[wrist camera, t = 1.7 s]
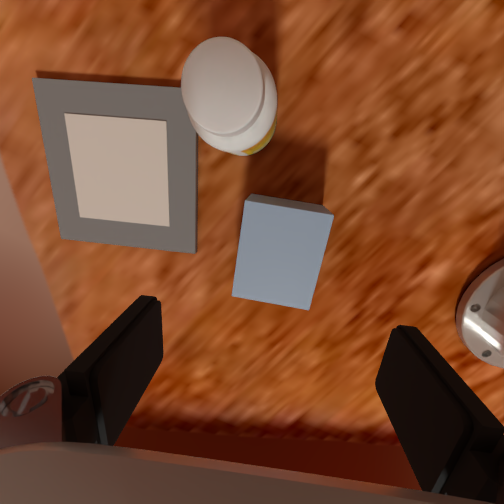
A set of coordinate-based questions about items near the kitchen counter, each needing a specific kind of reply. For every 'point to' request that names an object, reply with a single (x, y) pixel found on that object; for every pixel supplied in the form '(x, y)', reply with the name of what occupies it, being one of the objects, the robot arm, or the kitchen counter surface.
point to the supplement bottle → (229, 96)
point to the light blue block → (280, 250)
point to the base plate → (120, 163)
